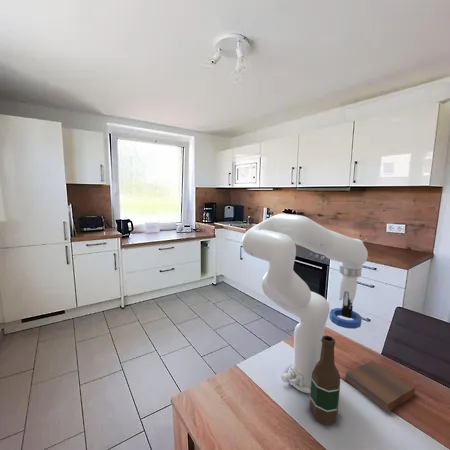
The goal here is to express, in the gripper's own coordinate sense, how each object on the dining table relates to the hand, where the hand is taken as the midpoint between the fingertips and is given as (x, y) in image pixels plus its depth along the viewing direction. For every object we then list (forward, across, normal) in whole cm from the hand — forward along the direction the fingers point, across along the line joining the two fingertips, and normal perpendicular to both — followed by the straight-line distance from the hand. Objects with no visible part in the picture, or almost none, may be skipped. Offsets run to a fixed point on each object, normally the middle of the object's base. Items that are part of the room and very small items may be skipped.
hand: (346, 315), depth 96 cm
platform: (+16, +13, +12) cm, 24 cm away
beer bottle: (+16, +33, 0) cm, 37 cm away
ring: (0, +4, 0) cm, 4 cm away
